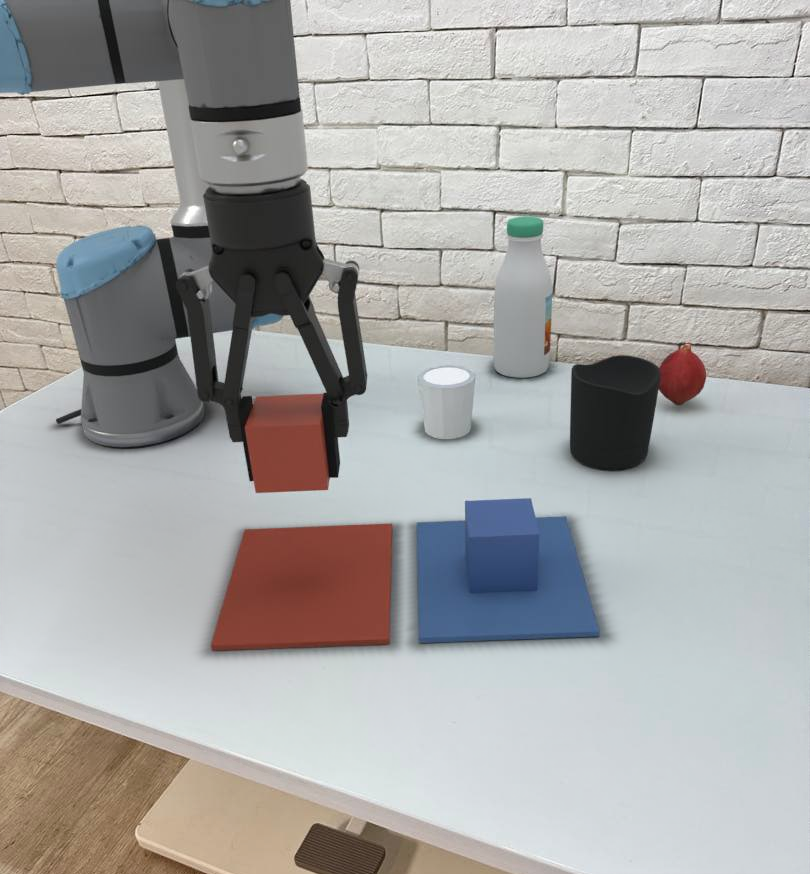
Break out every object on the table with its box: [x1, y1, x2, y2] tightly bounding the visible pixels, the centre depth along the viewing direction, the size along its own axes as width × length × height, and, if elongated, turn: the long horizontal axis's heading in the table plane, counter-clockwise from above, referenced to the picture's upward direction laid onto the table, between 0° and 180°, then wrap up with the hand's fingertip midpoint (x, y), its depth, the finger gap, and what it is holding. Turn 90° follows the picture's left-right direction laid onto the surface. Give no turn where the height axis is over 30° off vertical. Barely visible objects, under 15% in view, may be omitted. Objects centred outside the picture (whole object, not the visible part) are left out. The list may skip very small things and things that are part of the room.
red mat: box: [210, 522, 393, 651], centre depth 79 cm, size 15×18×1 cm
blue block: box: [464, 497, 540, 593], centre depth 77 cm, size 6×6×6 cm
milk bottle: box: [493, 216, 553, 379], centre depth 114 cm, size 8×8×20 cm
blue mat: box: [416, 515, 600, 644], centre depth 78 cm, size 15×18×1 cm
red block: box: [245, 392, 331, 494], centre depth 71 cm, size 6×6×6 cm
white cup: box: [417, 364, 476, 440], centre depth 103 cm, size 7×7×7 cm
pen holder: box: [569, 354, 661, 471], centre depth 95 cm, size 9×9×10 cm
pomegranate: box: [658, 343, 707, 406], centre depth 105 cm, size 6×6×8 cm
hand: (295, 471), depth 72 cm, fingers closed on red block, 6 cm apart
